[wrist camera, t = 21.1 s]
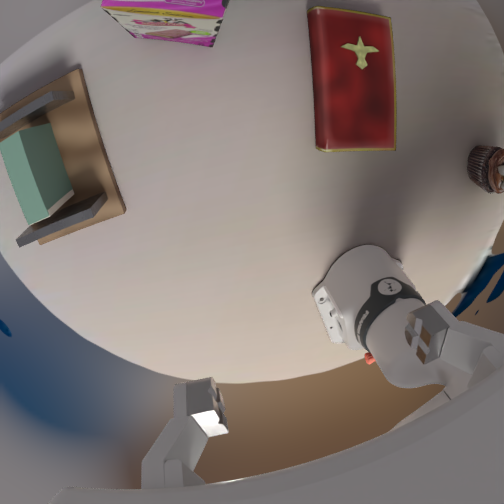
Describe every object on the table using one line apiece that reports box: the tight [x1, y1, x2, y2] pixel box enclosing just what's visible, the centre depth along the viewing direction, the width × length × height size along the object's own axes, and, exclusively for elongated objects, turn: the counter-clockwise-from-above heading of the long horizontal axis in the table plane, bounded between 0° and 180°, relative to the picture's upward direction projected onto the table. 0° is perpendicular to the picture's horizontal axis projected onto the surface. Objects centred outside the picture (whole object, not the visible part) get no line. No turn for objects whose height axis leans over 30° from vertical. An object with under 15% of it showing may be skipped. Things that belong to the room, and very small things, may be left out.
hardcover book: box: [307, 6, 396, 152], centre depth 37 cm, size 12×21×4 cm, turn 4°
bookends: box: [0, 91, 108, 247], centre depth 32 cm, size 16×13×7 cm
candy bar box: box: [101, 0, 230, 47], centre depth 25 cm, size 11×5×16 cm, turn 76°
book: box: [0, 123, 74, 225], centre depth 32 cm, size 4×11×9 cm, turn 13°
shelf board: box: [0, 69, 126, 245], centre depth 36 cm, size 22×16×2 cm
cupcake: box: [467, 146, 504, 194], centre depth 44 cm, size 10×10×10 cm
